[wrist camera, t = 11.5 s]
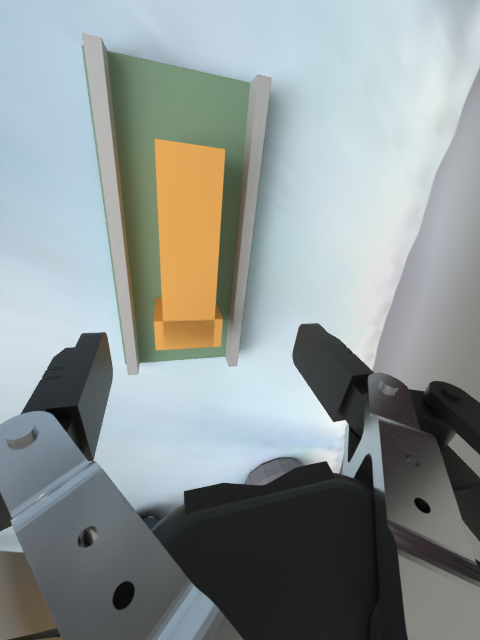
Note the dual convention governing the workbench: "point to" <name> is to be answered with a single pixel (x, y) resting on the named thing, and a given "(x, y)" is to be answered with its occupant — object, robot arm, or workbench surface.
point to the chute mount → (141, 185)
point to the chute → (188, 244)
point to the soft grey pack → (271, 471)
